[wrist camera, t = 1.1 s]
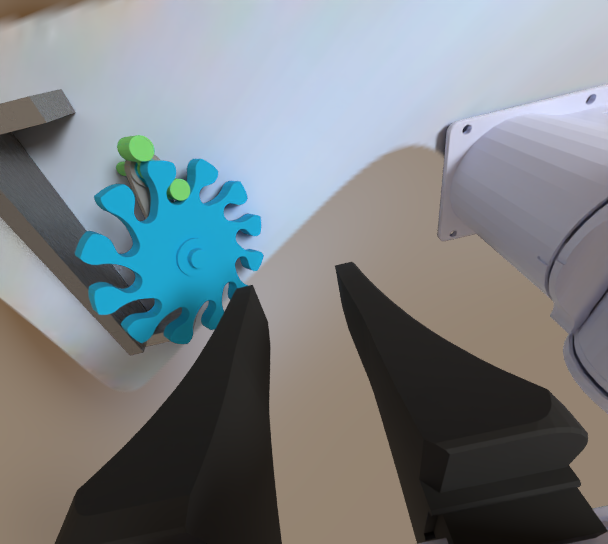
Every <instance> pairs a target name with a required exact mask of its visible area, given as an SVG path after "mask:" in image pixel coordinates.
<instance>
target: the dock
mask: <svg viewBox="0 0 608 544" xmlns="http://www.w3.org/2000/svg"><path fill="white" fill-rule="evenodd" d="M72 113H75V111H74V109H73V107H72V106H71V104H70V103H69V101H68V99H67V98H66V96H65V94H64V93H63V91H62V89H60V90H56V91H51V92H47V93H42V94H38V95H33V96H29V97H25V98H21V99H17V100H13V101H9V102H6V103H2V104H0V217H1V218H2V219H3V220H4V221H5V222H6V223H7V224H8V225H9V226H10V227H11V229H12V230H13V231H14V232H15V233H16V234H17V235H18V236H19V237H20V238H21V239H22V240H23V241H24V242H25V244H26V245H27V246H28V247H29V248H30V249H31V250H32V251H33V252H34V253H35V254H36V255H37V256H38V257H39V259H40V260H41V261H42V262H43V263H44V264H45V265H46V266H47V267H48V268H49V269H50V270H51V271H52V272H53V273H54V275H55V276H56V277H57V278H58V279H59V280H60V281H61V282H62V283H63V284H64V285H65V286H66V287H67V288H68V290H69V291H70V292H71V293H72V294H73V295H74V296H75V297H76V298H77V299H78V300H79V301H80V302H81V303H82V305H83V306H84V307H85V308H86V309H87V310H88V311H89V312H90V313H91V314H92V315H93V316H94V317H95V318H96V319H97V321H98V322H99V323H100V324H101V325H102V326H103V327H104V328H105V329H106V330H107V331H108V332H109V333H110V334H111V336H112V337H113V338H114V339H115V340H116V341H117V342H118V343H119V344H120V345H121V346H122V347H123V348H124V349H125V351H126V352H127V353H128V354H129V355H134V354H138V353H143V352H144V349H145V347H147V346H151V345H156V344H160V343H164V342H169V341H170V340H169V339H167V338H166V337H165V336H164V335H163V333H164V330H165V328H166V326H167V325H168V324H169V323H170V322H172V321H174V320H175V319H177V318H178V317H179V316H180V315H181V312H182V307H180V308H178V309H176V310H174V311H173V312H171V313H169V314H168V315H167V316H165V317H164V318H163V319H162V320H161V322H160V323H159V324H158V325H157V327H156V329H155V331H154V333H153V335H152V336H151V338H150V339H148V340H147V341H146V342H144V343H140V342H138V341H137V340H135V339H134V338H133V337H132V336H130V335H129V334H128V333H127V332H126V331H125V330H124V329H123V328H122V326H121V323H122V321H123V320H124V319H125V318H126V317H127V316H129V315H131V314H135V313H145V312H147V310H146V309H145V308H144V306H143V305H142V304H141V302H140V301H139V300H134V301H131V302H129V303H127V304H125V305H123V306H122V307H120V308H119V309H118V310H116V311H115V312H113V313H111V314H108V315H99V314H98V313H97V312H96V311H95V310H93V308H92V306H91V303H90V300H89V294H88V290H89V286H90V285H92V284H94V283H97V282H107V283H109V284H111V285H113V286H115V287H117V288H120V289H125V288H128V285H127V284H126V283H125V281H124V280H123V279H122V277H121V276H120V275H119V274H118V272H117V271H116V270H115V268H114V267H113V266H112V264H100V265H91V264H87V263H86V262H84V261H82V260H81V259H79V258H78V257H77V256H75V251H76V248H77V245H78V243H79V240H80V239H81V237H82V235H83V234H84V233H85V232H86V230H85V229H84V227H83V226H82V225H81V224H80V222H79V221H78V220H77V218H76V217H75V216H74V214H73V213H72V212H71V210H70V209H69V208H68V206H67V205H66V204H65V202H64V201H63V200H62V198H61V197H60V196H59V195H58V193H57V192H56V191H55V189H54V188H53V187H52V185H51V184H50V183H49V181H48V180H47V179H46V177H45V176H44V175H43V173H42V172H41V171H40V170H39V168H38V167H37V166H36V164H35V163H34V162H33V160H32V159H31V158H30V156H29V155H28V154H27V152H26V151H25V150H24V148H23V147H22V146H21V145H20V143H19V142H18V141H17V139H16V138H15V137H14V135H13V134H12V133H11V132H12V131H16V130H20V129H24V128H28V127H32V126H36V125H39V124H43V123H47V122H50V121H53V120H55V119H58V118H61V117H64V116H66V115H69V114H72ZM196 315H197V314H196ZM195 320H196V317H195V319H194V323H193V328H194V324H195Z"/></svg>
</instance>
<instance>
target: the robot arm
mask: <svg viewBox="0 0 608 544" xmlns="http://www.w3.org/2000/svg"><path fill="white" fill-rule="evenodd" d="M589 96H590V98H589V100H588V101H587V102H586V100H587V99H588V97H589ZM466 125H468V128H467V130H466V131H465V132H464V133H463V132H462V130H463V128H464V127H465V126H466ZM452 231H454V232H453V233H452V234H450V233H451V232H452ZM473 234H477V235H478V236H480V237H481V238H482V239H483V240H484V241H485V242H486V243H488V244H489V245H490V246H491V247H492V248H493V249H494V250H495V251H497V252H498V253H499V254H500V255H501V256H502V257H503V258H505V259H506V260H507V261H508V262H509V263H510V264H511V265H513V266H514V267H515V268H516V269H517V270H518V271H519V272H521V273H522V274H523V275H524V276H525V277H526V278H527V279H529V280H530V281H531V282H532V283H533V284H534V285H535V286H537V287H538V288H539V289H540V290H541V291H542V292H543V293H545V294H546V295H547V296H548V297H549V298H550V299H551V300H552V301H553V302H554V308H553V311H552V313H551V315H550V317H551V318H552V319H553V320H555V321H556V322H557V323H558V324H559V325H560V326H561V327H562V328H563V329H564V330H565V331H566V332H567V333H568V334H569V335H568V336H567V338H566V340H565V342H564V348H563V354H564V360H565V363H566V365H567V368H568V370H569V371H570V373H571V375H572V377H573V378H574V380H575V381H576V382H577V384H578V385H579V386H580V388H581V389H582V390H583V391H584V392H585V393H586V394H587V395H588V396H589V397H590V398H591V399H592V400H593V401H594V402H595V403H596V404H597V405H598V406H599V407H600V408H601V409H603V410H604V411H605V412H606V413H607V414H608V84H605V85H601V86H597V87H593V88H589V89H585V90H581V91H577V92H573V93H569V94H565V95H561V96H556V97H552V98H548V99H544V100H540V101H536V102H532V103H528V104H524V105H520V106H516V107H511V108H507V109H503V110H499V111H495V112H491V113H487V114H483V115H479V116H475V117H471V118H467V119H462V120H458V121H455V122H453V123H452V124H451V125H450V126H449V127H448V129H447V134H446V145H445V156H444V167H443V179H442V190H441V200H440V211H439V223H438V234H437V235H438V238H439V239H440V240H441V241H448V240H451V239H456V238H460V237H465V236H469V235H473ZM335 268H336V273H337V279H338V285H339V291H340V297H341V303H342V307H343V311H344V314H345V318H346V322H347V325H348V328H349V331H350V334H351V336H352V339H353V341H354V343H355V346H356V349H357V351H358V354H359V356H360V359H361V361H362V363H363V366H364V368H365V371H366V373H367V376H368V378H369V381H370V384H371V386H372V389H373V392H374V395H375V398H376V402H377V405H378V408H379V412H380V415H381V418H382V421H383V425H384V429H385V432H386V435H387V439H388V442H389V446H390V449H391V452H392V456H393V459H394V463H395V466H396V470H397V473H398V477H399V480H400V484H401V487H402V491H403V494H404V498H405V502H406V505H407V509H408V512H409V516H410V520H411V523H412V527H413V530H414V534H415V537H416V541H417V544H608V506H603V507H598V508H593V509H592V508H591V506H590V505H589V504H588V502H587V501H586V499H585V498H584V496H583V495H582V494H581V492H580V491H579V489H578V488H577V487H580V486H581V483H580V480H579V478H578V477H577V476H576V474H575V473H574V472H573V470H572V469H571V468H570V466H569V464H570V463H571V462H572V461H573V460H574V459H575V458H576V457H577V455H579V454H580V452H581V451H582V450H583V449H584V448H585V446H586V445H587V442H588V433H587V432H586V431H585V429H584V428H583V427H582V426H581V425H580V423H579V422H578V421H577V420H576V419H575V418H574V416H573V415H572V414H571V413H570V412H569V411H568V410H567V408H566V407H565V406H564V405H563V404H562V403H561V402H560V401H559V400H558V399H557V398H556V397H555V396H553V395H552V393H551V392H550V391H549V390H547V389H545V388H543V387H541V386H538V385H536V384H534V383H531V382H529V381H527V380H524V379H522V378H520V377H518V376H515V375H513V374H511V373H508V372H506V371H504V370H502V369H500V368H497V367H495V366H493V365H491V364H489V363H487V362H485V361H483V360H481V359H479V358H477V357H476V356H474V355H472V354H470V353H468V352H467V351H465V350H463V349H461V348H460V347H458V346H456V345H454V344H452V343H451V342H449V341H447V340H445V339H444V338H442V337H440V336H439V335H437V334H436V333H434V332H433V331H431V330H430V329H428V328H426V327H425V326H424V325H422V324H421V323H419V322H418V321H417V320H415V319H413V318H412V317H411V316H410V315H408V314H407V313H406V312H405V311H403V310H402V309H401V308H400V307H398V306H397V305H396V304H395V303H393V302H392V301H391V300H390V299H389V298H388V297H387V296H385V295H384V294H383V293H382V292H381V291H380V290H379V289H378V288H377V287H376V286H375V285H374V284H373V283H372V282H371V281H369V279H368V278H367V277H366V276H365V275H364V274H363V273H362V272H361V271H360V269H359V268H358V267H357V266H356V265H355V264H354V263H353V262H349V263H345V264H340V265H336V266H335ZM269 384H270V338H269V328H268V321H267V319H266V317H265V314H264V311H263V309H262V307H261V304H260V302H259V299H258V297H257V294H256V292H255V289H254V287H253V285H250V286H245V287H241V288H237V289H236V290H235V292H234V294H233V296H232V298H231V300H230V302H229V304H228V306H227V308H226V310H225V312H224V314H223V316H222V318H221V319H220V321H219V323H218V325H217V327H216V328H215V331H214V332H213V334H212V336H211V337H210V339H209V341H208V342H207V344H206V346H205V347H204V349H203V350H202V352H201V354H200V355H199V357H198V358H197V360H196V361H195V363H194V365H193V366H192V367H191V369H190V370H189V372H188V373H187V374H186V376H185V377H184V379H183V380H182V381H181V382H180V384H179V385H178V386H177V388H176V389H175V390H174V391H173V393H172V394H171V395H170V396H169V397H168V398H167V400H166V401H165V402H164V403H163V404H162V406H161V407H160V408H159V409H158V410H157V412H156V413H155V414H154V415H153V416H152V417H151V419H150V420H149V421H148V422H147V423H146V424H145V425H144V426H143V427H142V428H141V429H140V431H138V433H136V434H135V436H134V437H133V438H132V439H131V440H130V441H129V442H128V443H127V444H126V445H125V446H124V447H123V448H122V449H121V450H120V451H119V452H118V453H117V454H116V455H115V456H114V457H113V458H111V460H109V461H108V462H107V463H106V464H105V465H104V466H103V467H102V468H101V469H100V470H99V471H98V472H97V473H96V474H94V476H92V477H91V478H90V479H89V480H88V481H87V482H86V483H85V484H84V485H83V486H81V487H80V488H79V489H78V490H77V492H76V494H75V496H74V498H73V501H72V503H71V506H70V508H69V511H68V513H67V515H66V518H65V520H64V523H63V525H62V527H61V530H60V533H59V535H58V537H57V539H56V542H55V544H282V542H281V533H280V525H279V516H278V508H277V498H276V489H275V479H274V469H273V457H272V445H271V432H270V419H269Z"/></svg>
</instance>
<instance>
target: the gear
mask: <svg viewBox="0 0 608 544" xmlns="http://www.w3.org/2000/svg"><path fill="white" fill-rule="evenodd" d="M117 148H118V152H119V154H120V155H121V156H122V157H123V158H124V159H125V160H126V161H125V162H119V163H118V164H117V166H116V169H117V172H118V173H119V174H120V175H123V176H127V178H128V180H129V183H130V185H131V187H132V190H133V192H134V194H135V196H134V194H133V192H132V190H131V189H130V188H129V187H128V186H126V185H124V184H113V185H110V186H108V187H106V188H104V189H103V190H101V191H100V192H99V193H97V194H96V195H95V196H94V198H95V201H96V203H97V205H98V206H99V207H100V208H101V209H103V210H105V211H107V212H109V213H111V214H113V215H114V216H116V217H117V218H118V219H119V220H121V221H122V223H123V224H124V225H125V226H126V228H127V230H128V231H129V233H130V236H131V238H132V240H133V245H132V248H131V249H130V250H129V251H128V252H126V253H124V254H118V253H117V251H116V249H115V247H114V245H113V244H112V242H111V241H110V240H109V239H108V238H107V237H105V236H103V235H101V234H99V233H96V232H92V231H86V232H85V233H84V234H83V235H82V237H81V239H80V240H79V243H78V245H77V248H76V251H75V256H77V257H78V258H79V259H81V260H82V261H84V262H86V263H87V264H91V265H100V264H118V265H122V266H125V267H127V268H129V269H131V270H132V271H133V272H134V273H135V281H134V283H133V284H132V285H131V286H130V287H128V288H125V289H120V288H117V287H115V286H113V285H111V284H109V283H107V282H97V283H94V284H92V285H90V286H89V290H88V294H89V300H90V303H91V306H92V308H93V310H95V311H96V312H97V313H98V314H99V315H108V314H111V313H113V312H115V311H116V310H118V309H119V308H120V307H122V306H123V305H125V304H127V303H129V302H131V301H134V300H138V299H144V298H154V299H155V304H154V306H153V308H152V309H151V310H149V311H148V312H145V313H135V314H131V315H129V316H127V317H126V318H125V319H124V320H123V321H122V323H121V326H122V328H123V329H124V330H125V331H126V332H127V333H128V334H129V335H130V336H132V337H133V338H134V339H135V340H137V341H138V342H140V343H144V342H146V341H147V340H148V339H150V338H151V336H152V335H153V333H154V331H155V329H156V327H157V325H158V324H159V323H160V322H161V320H162V319H163V318H164V317H165V316H167V315H168V314H169V313H171V312H173V311H174V310H176V309H178V308H180V307H182V312H181V315H180V316H179V317H178V318H177V319H175V320H174V321H172V322H170V323H169V324H168V325H167V326H166V328H165V330H164V333H163V335H164V336H165V337H166V338H167V339H169V340H170V341H171V342H173V343H177V344H188V343H189V342H190V340H191V339H192V336H193V323H194V319H195V317H196V314H197V313H198V311H199V309H200V308H201V306H202V305H203V304H204V303H205V302H206V301H209V304H208V307H207V308H206V310H205V312H204V313H203V315H202V318H201V322H202V324H203V326H205V327H207V328H209V329H210V330H213V329H215V328H216V327H217V325H218V323H219V321H220V319H221V318H222V316H223V314H224V310H223V307H222V293H223V288H224V286H225V285H226V284H227V283H228V282H229V288H228V297H229V299H230V300H231V298H232V296H233V294H234V292H235V290H236V289H237V288H241V287H245V286H248V285H246V284H244V283H243V282H242V281H241V280H240V279H239V277H238V275H237V272H236V268H235V263H236V260H237V259H238V258H239V257H240V260H241V264H242V266H243V267H245V268H247V269H250V270H253V271H257V270H258V269H259V267H260V265H261V262H262V259H263V256H264V255H263V254H262V253H261V252H259V251H256V250H252V249H247V250H244V249H243V248H242V247H241V246H240V245H239V244H238V243H237V242H236V234H237V232H238V231H239V230H241V231H242V232H243V233H244V234H248V235H252V236H258V235H259V234H260V232H261V218H260V216H258V215H253V214H245V215H243V216H242V217H241V218H239V219H237V220H233V221H228V220H226V218H225V217H224V208H225V206H226V205H227V204H229V203H230V204H237V205H242V204H244V203H245V202H246V201H247V199H248V198H247V194H246V191H245V189H244V187H243V185H242V184H241V182H239V181H228V182H226V183H225V184H224V185H223V187H222V189H221V191H220V193H219V194H218V195H217V196H216V197H215V198H214V199H213V200H211V201H209V202H206V203H204V204H203V203H202V202H201V200H200V197H199V193H200V190H201V189H202V188H203V187H204V186H207V185H210V184H212V183H214V182H215V181H216V179H217V177H218V171H217V170H216V168H215V167H214V166H213V165H211V164H210V163H208V162H207V161H205V160H203V159H192V160H191V161H190V162H189V164H188V166H187V182H186V181H185V180H183V179H175V177H176V168H175V165H174V164H173V163H171V162H169V161H161V160H160V159H159V158H158V157H157V156H155V155H154V146H153V144H152V142H151V141H150V140H149V139H148V138H146V137H144V136H140V135H138V136H130V137H124V138H121V139H120V140H119V142H118V144H117ZM135 197H136V199H137V201H138V203H139V206H140V208H141V210H142V213H143V215H144V217H145V220H144V221H138V220H137V219H136V217H135V215H134V206H135ZM173 199H174V200H176V201H175V202H174V200H173Z"/></svg>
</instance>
